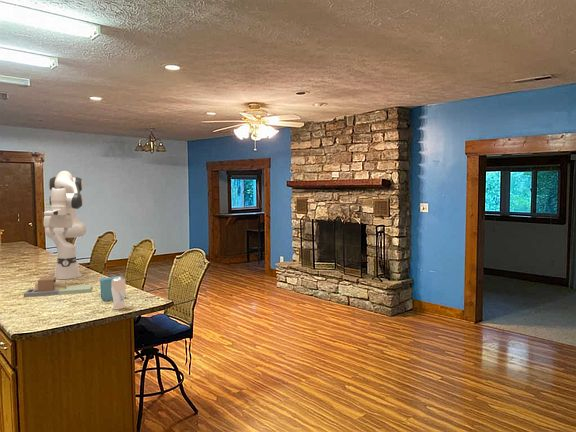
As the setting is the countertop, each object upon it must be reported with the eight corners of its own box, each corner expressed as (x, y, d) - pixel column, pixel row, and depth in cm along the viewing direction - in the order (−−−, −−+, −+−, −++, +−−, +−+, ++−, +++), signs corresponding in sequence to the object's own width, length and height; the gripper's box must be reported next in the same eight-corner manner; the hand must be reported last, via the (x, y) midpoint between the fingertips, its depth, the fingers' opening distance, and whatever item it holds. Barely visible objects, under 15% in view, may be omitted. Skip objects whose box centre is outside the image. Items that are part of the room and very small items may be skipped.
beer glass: (128, 306, 234) (127, 277, 234) (123, 309, 227) (122, 280, 227) (114, 306, 234) (113, 277, 233) (109, 309, 227) (108, 280, 226)
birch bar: (36, 289, 266) (36, 283, 266) (66, 287, 271) (66, 281, 271) (35, 291, 262) (34, 284, 262) (65, 289, 267) (65, 282, 267)
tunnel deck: (29, 292, 269) (28, 277, 268) (92, 287, 280) (91, 274, 279) (23, 297, 256) (23, 282, 256) (90, 292, 267) (89, 277, 267)
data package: (122, 296, 256) (122, 275, 255) (125, 298, 252) (124, 277, 252) (100, 299, 249) (100, 278, 248) (103, 301, 245) (102, 279, 244)
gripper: (67, 213, 285) (67, 235, 285) (41, 212, 266) (41, 235, 265) (75, 213, 283) (75, 235, 283) (50, 212, 264) (50, 235, 263)
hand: (58, 235), depth 274 cm, fingers open, 8 cm apart
